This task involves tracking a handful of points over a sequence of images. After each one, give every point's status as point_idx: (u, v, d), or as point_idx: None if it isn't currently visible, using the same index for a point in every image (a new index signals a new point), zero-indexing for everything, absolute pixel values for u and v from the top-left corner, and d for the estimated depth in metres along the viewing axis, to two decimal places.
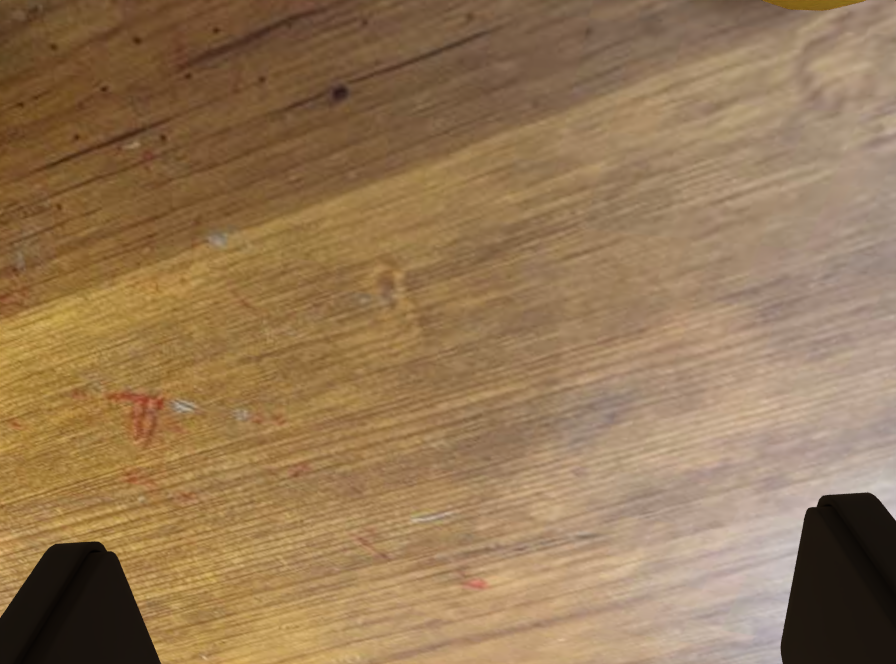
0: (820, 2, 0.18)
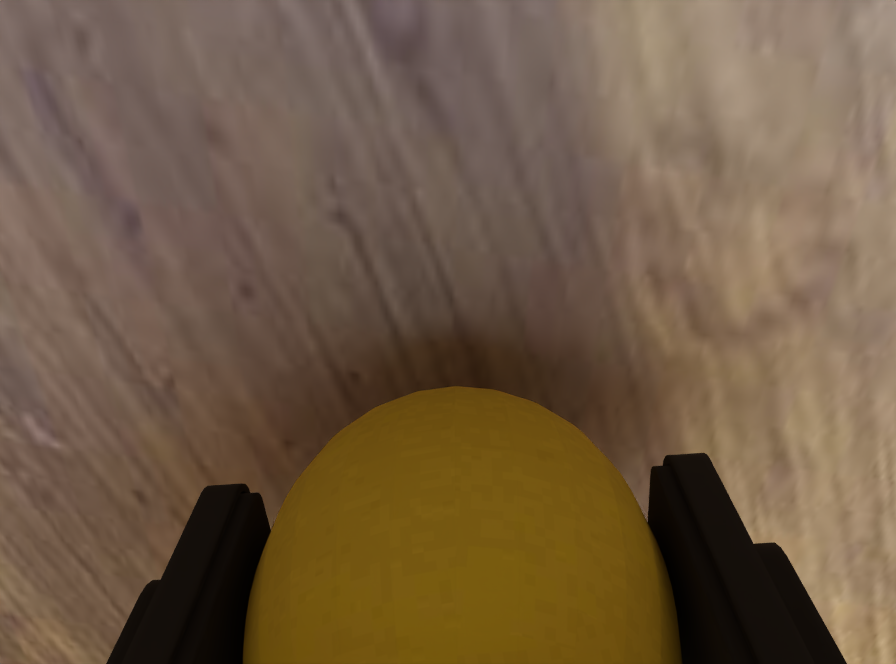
0: None
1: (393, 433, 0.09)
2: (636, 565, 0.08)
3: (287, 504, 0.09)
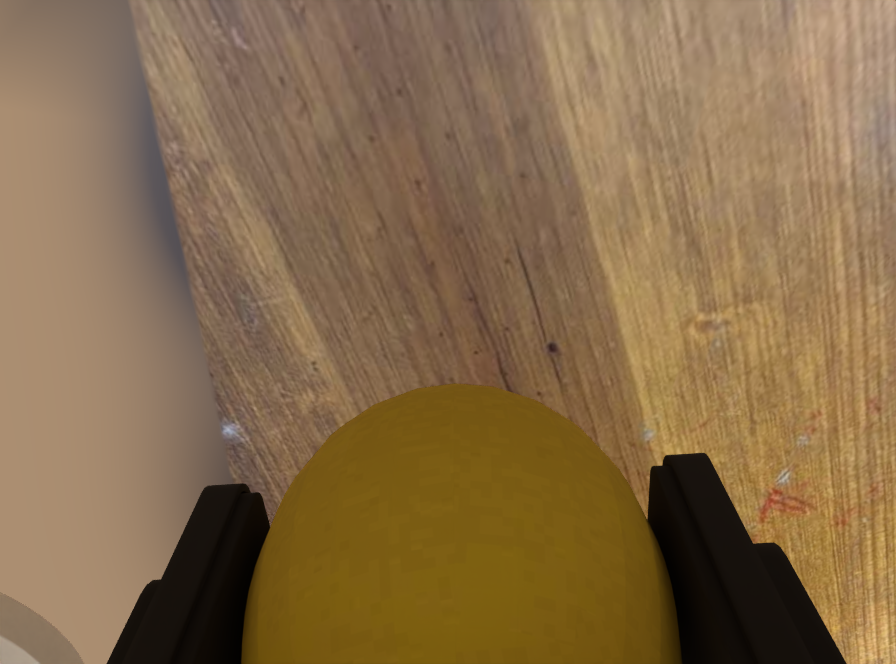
0: None
1: (393, 429, 0.09)
2: (636, 562, 0.08)
3: (286, 501, 0.09)
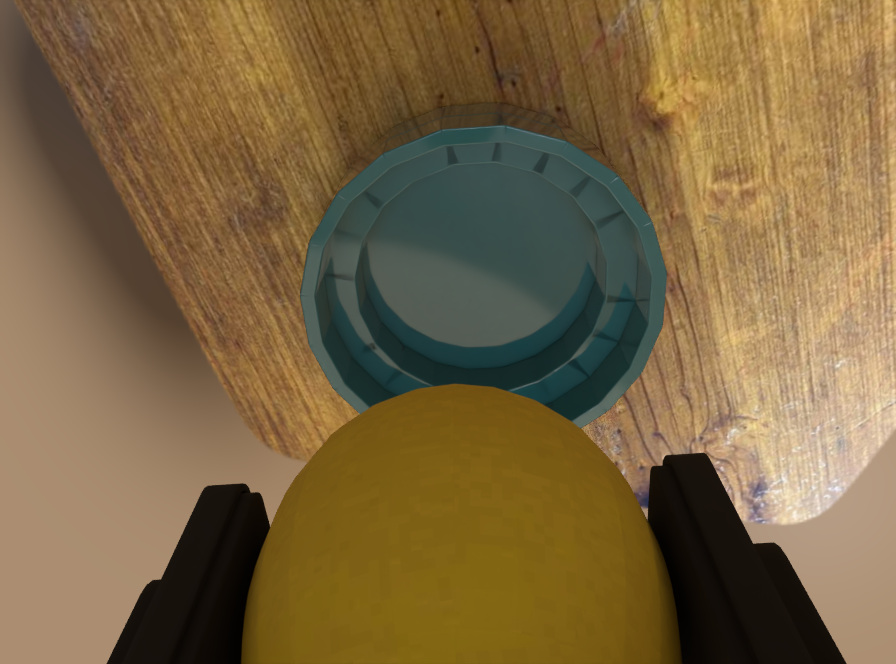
0: None
1: (392, 430, 0.09)
2: (636, 562, 0.08)
3: (286, 501, 0.09)
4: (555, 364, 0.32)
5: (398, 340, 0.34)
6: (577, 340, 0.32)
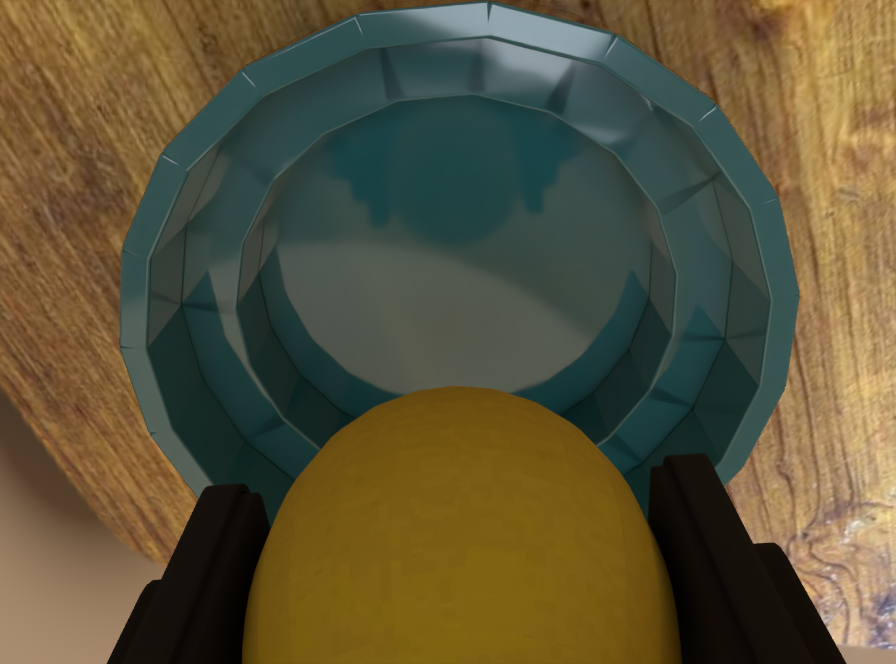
0: None
1: (393, 432, 0.09)
2: (636, 565, 0.08)
3: (286, 504, 0.09)
4: None
5: (330, 402, 0.21)
6: (621, 403, 0.19)
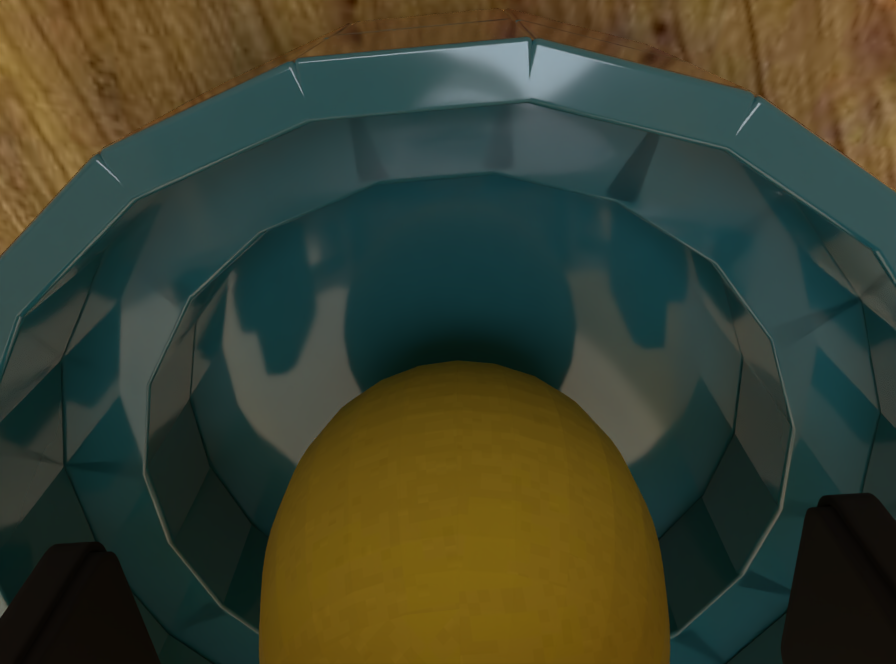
0: None
1: (400, 399, 0.09)
2: (624, 518, 0.09)
3: (300, 467, 0.10)
4: None
5: None
6: (697, 582, 0.14)
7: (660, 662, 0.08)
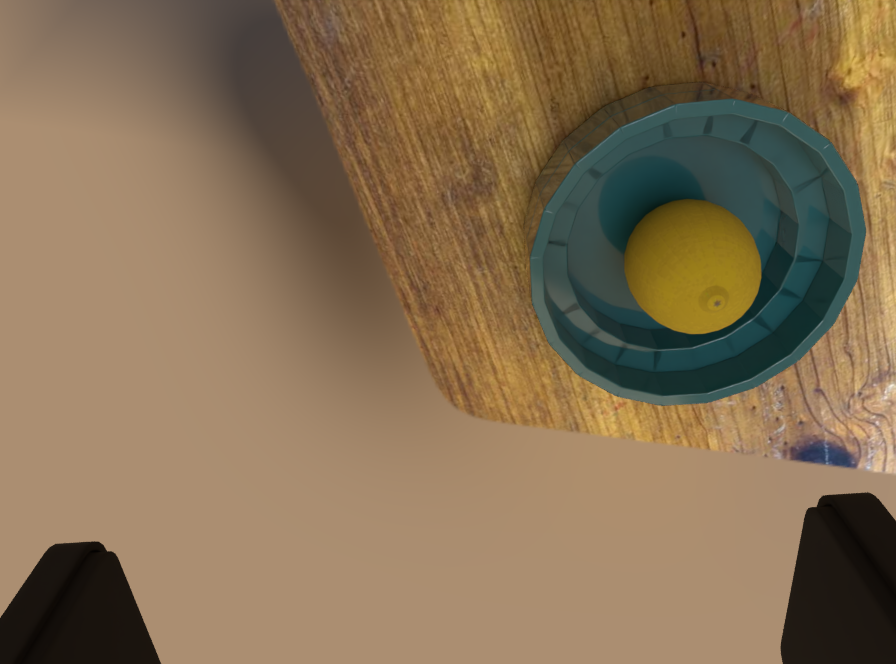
0: None
1: (676, 204, 0.31)
2: (748, 232, 0.30)
3: (641, 227, 0.31)
4: (740, 321, 0.35)
5: (588, 303, 0.37)
6: (761, 299, 0.35)
7: (760, 266, 0.29)
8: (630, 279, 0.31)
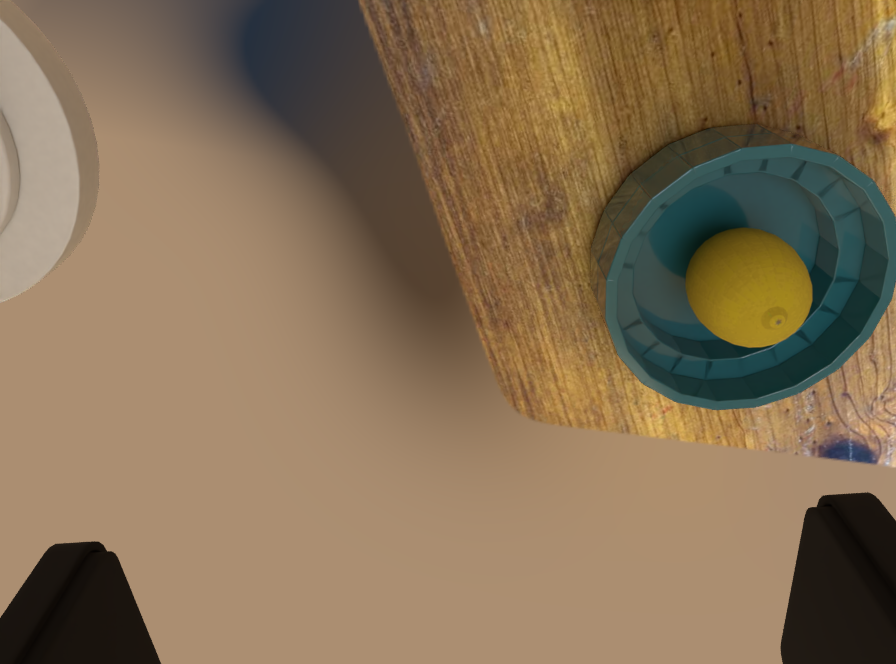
0: None
1: (735, 233, 0.35)
2: (800, 258, 0.34)
3: (704, 253, 0.35)
4: None
5: (645, 318, 0.41)
6: None
7: None
8: (694, 299, 0.35)
